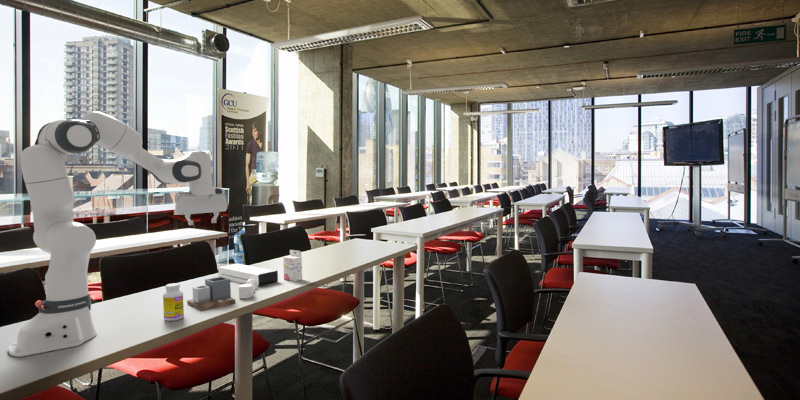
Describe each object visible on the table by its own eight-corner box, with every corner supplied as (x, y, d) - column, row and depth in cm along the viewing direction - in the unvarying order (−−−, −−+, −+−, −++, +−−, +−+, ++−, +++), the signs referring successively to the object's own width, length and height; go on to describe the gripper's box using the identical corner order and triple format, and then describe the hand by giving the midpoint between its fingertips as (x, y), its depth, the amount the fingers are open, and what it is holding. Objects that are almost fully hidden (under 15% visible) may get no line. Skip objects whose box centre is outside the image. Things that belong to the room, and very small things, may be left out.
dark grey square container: (213, 301, 184) (212, 282, 183) (205, 298, 189) (205, 279, 188) (230, 297, 189) (230, 279, 189) (222, 294, 194) (222, 276, 194)
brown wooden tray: (201, 310, 177) (201, 305, 176) (187, 303, 186) (187, 299, 186) (235, 302, 187) (235, 298, 187) (220, 296, 196) (220, 292, 196)
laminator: (218, 278, 233) (218, 266, 233) (239, 274, 243) (239, 262, 243) (258, 287, 213) (258, 274, 213) (279, 282, 223) (279, 270, 223)
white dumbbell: (251, 298, 193) (251, 286, 193) (238, 299, 193) (238, 286, 192) (258, 287, 213) (257, 275, 213) (246, 288, 212) (246, 276, 212)
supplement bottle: (175, 322, 163) (174, 287, 163) (159, 321, 165) (158, 286, 164) (187, 316, 170) (186, 282, 169) (172, 315, 171) (171, 282, 170)
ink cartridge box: (283, 279, 227) (282, 250, 226) (290, 277, 231) (289, 249, 230) (295, 281, 222) (294, 252, 221) (302, 279, 226) (301, 250, 226)
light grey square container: (198, 304, 181) (197, 289, 180) (193, 301, 184) (192, 287, 184) (210, 301, 184) (209, 286, 184) (205, 299, 188) (204, 285, 187)
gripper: (177, 191, 175) (179, 227, 176) (228, 189, 190) (229, 222, 191) (171, 191, 180) (173, 225, 181) (221, 189, 194) (222, 221, 195)
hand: (202, 224), depth 186 cm, fingers open, 8 cm apart
